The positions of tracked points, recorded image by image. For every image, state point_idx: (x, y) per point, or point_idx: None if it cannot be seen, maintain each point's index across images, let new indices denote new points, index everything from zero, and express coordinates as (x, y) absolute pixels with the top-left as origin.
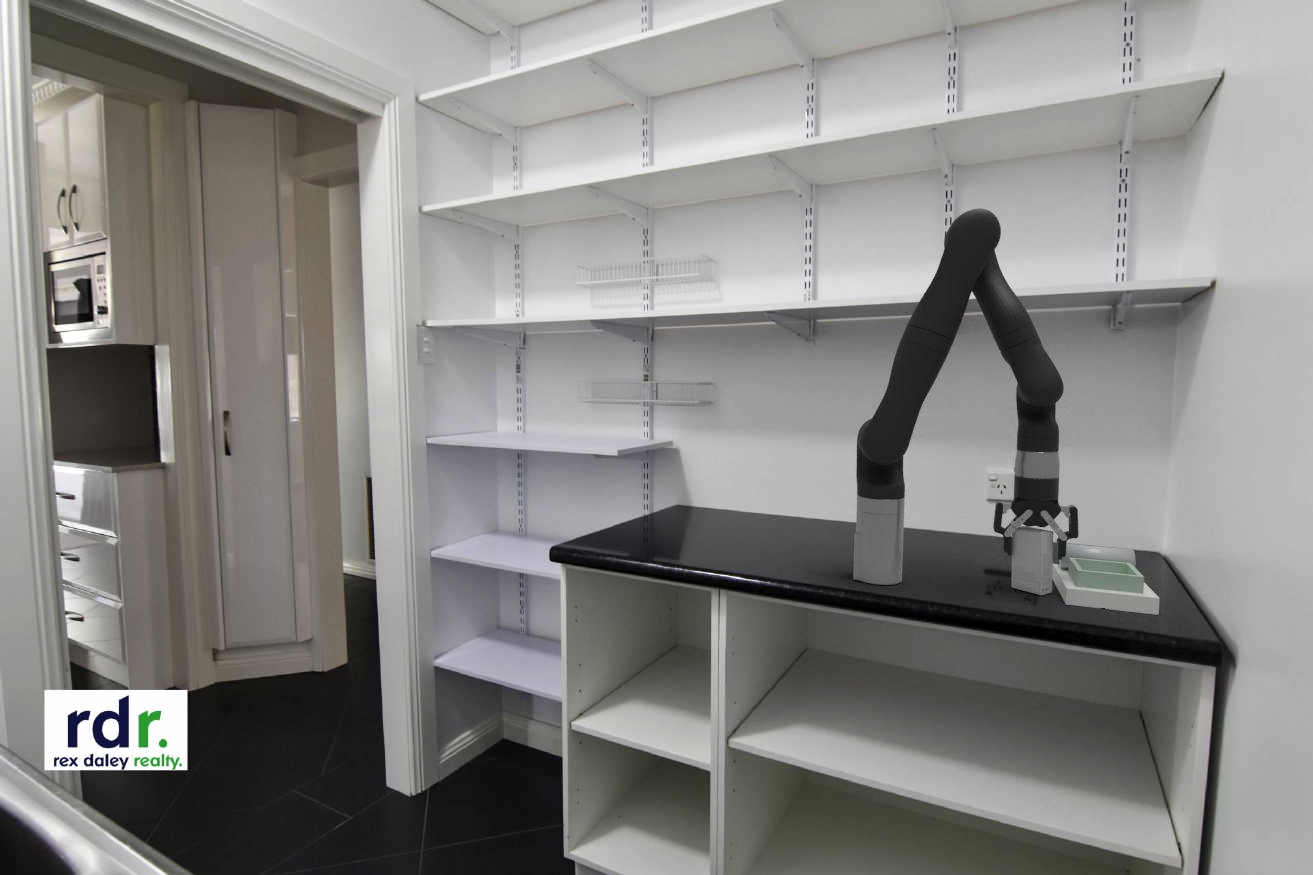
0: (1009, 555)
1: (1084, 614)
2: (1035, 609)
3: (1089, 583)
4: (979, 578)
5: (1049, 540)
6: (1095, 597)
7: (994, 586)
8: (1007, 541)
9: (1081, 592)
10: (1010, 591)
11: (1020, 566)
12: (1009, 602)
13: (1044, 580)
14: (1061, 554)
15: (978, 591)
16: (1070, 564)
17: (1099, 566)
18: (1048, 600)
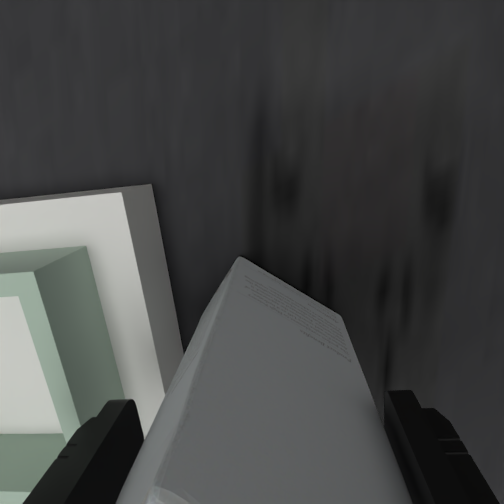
0: (395, 391)
1: (83, 78)
2: (255, 39)
3: (29, 256)
4: (456, 390)
5: (125, 498)
6: (33, 199)
7: (405, 306)
8: (452, 480)
9: (72, 196)
10: (346, 264)
11: (322, 348)
12: (359, 91)
13: (216, 298)
14: (97, 419)
15: (482, 200)
16: None
17: (8, 468)
18: (210, 208)
